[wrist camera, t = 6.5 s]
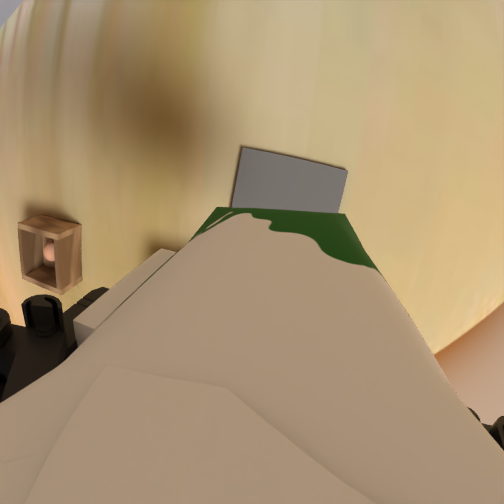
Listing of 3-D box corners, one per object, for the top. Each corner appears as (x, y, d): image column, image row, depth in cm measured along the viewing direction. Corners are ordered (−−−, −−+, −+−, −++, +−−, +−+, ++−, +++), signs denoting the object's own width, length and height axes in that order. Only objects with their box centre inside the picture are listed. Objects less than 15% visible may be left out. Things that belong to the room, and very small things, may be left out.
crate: (43, 266, 42) (22, 278, 37) (41, 214, 39) (17, 222, 34) (82, 280, 41) (61, 295, 36) (81, 224, 39) (57, 234, 33)
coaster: (225, 246, 37) (224, 247, 36) (243, 147, 33) (242, 147, 32) (321, 267, 36) (322, 269, 36) (347, 170, 32) (347, 170, 32)
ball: (51, 255, 40) (40, 261, 37) (51, 237, 39) (38, 242, 36) (65, 259, 40) (53, 266, 37) (64, 241, 39) (52, 247, 36)
